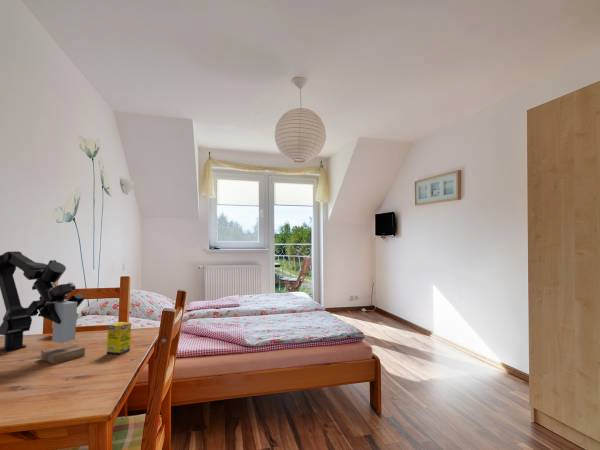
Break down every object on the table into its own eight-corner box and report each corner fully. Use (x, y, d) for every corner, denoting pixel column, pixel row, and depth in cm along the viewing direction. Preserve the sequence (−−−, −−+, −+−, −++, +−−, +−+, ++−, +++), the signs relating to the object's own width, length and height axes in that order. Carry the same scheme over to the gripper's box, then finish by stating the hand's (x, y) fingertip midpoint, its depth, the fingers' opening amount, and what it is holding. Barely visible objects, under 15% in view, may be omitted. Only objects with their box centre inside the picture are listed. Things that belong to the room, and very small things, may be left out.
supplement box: (119, 355, 126) (120, 325, 127) (106, 353, 127) (107, 325, 128) (130, 350, 132) (131, 322, 133) (117, 349, 133) (118, 321, 134)
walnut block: (40, 359, 121) (41, 350, 121) (70, 351, 130) (70, 343, 130) (54, 364, 116) (55, 355, 117) (84, 355, 125) (85, 347, 125)
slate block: (52, 341, 122) (54, 303, 123) (65, 338, 127) (67, 301, 128) (61, 343, 120) (64, 304, 121) (74, 339, 125) (77, 302, 126)
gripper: (32, 278, 117) (53, 312, 113) (82, 274, 135) (101, 303, 131) (16, 299, 120) (36, 333, 115) (67, 292, 137) (86, 321, 133)
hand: (67, 321), depth 124 cm, fingers closed on slate block, 5 cm apart
